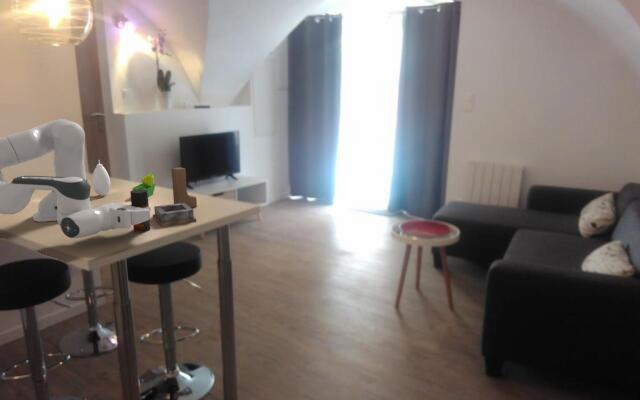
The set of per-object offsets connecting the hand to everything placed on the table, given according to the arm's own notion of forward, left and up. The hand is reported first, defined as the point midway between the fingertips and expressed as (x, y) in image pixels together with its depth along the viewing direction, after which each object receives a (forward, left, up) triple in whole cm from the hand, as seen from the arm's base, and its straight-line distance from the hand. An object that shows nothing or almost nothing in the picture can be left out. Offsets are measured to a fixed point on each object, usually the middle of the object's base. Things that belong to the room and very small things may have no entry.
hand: (142, 207), depth 176 cm
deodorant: (-1, 0, -9) cm, 9 cm away
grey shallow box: (+13, +8, -9) cm, 17 cm away
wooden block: (+22, +24, -9) cm, 34 cm away
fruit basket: (+11, +54, -9) cm, 55 cm away
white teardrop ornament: (-7, +65, -9) cm, 65 cm away
